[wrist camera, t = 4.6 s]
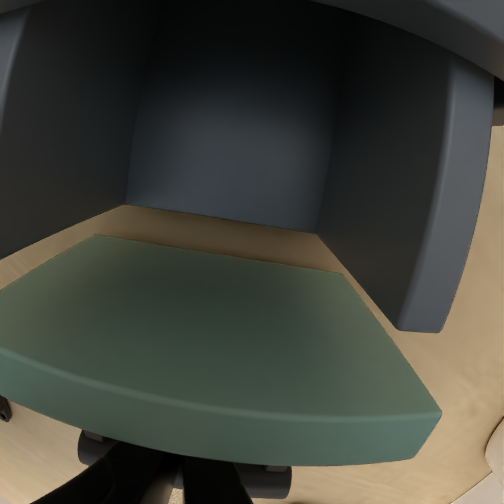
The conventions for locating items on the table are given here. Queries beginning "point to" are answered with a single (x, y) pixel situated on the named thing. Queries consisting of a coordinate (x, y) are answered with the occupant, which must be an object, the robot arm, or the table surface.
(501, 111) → the cabinet
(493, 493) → the paper
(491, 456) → the mug
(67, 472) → the table surface
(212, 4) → the drawer
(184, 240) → the table surface
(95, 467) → the robot arm
